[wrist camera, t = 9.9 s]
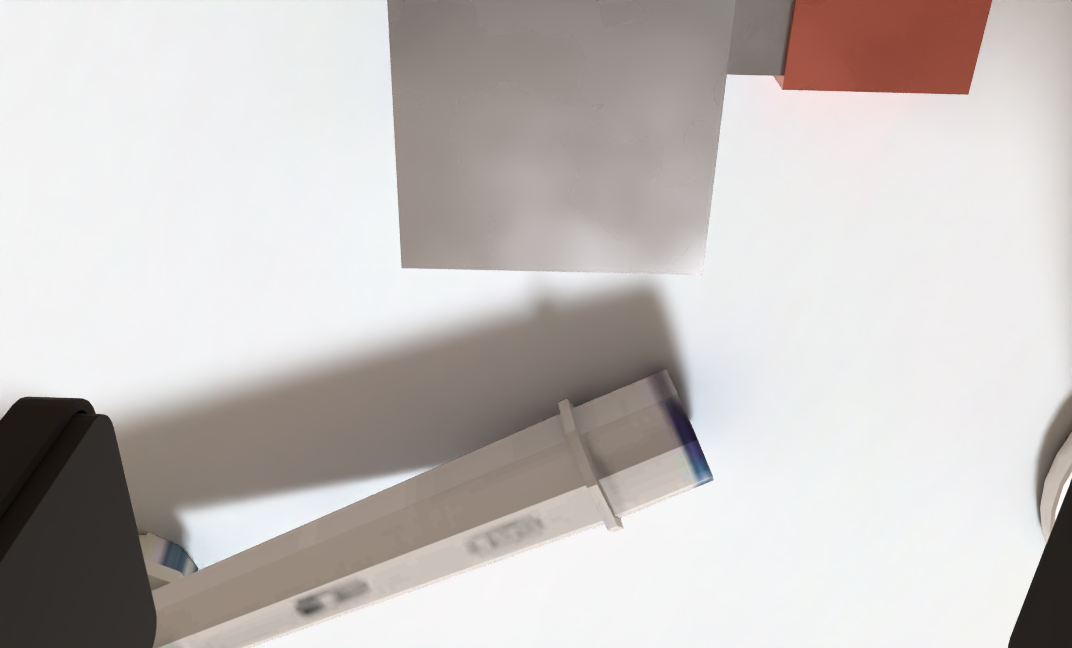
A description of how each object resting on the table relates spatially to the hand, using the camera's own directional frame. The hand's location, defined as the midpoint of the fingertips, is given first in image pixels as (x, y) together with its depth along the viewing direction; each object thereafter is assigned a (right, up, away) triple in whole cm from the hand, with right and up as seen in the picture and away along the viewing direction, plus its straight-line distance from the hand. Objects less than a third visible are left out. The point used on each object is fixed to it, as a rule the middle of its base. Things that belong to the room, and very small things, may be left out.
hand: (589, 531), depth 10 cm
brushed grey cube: (0, +9, +15) cm, 17 cm away
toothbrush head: (-7, -4, +27) cm, 28 cm away
